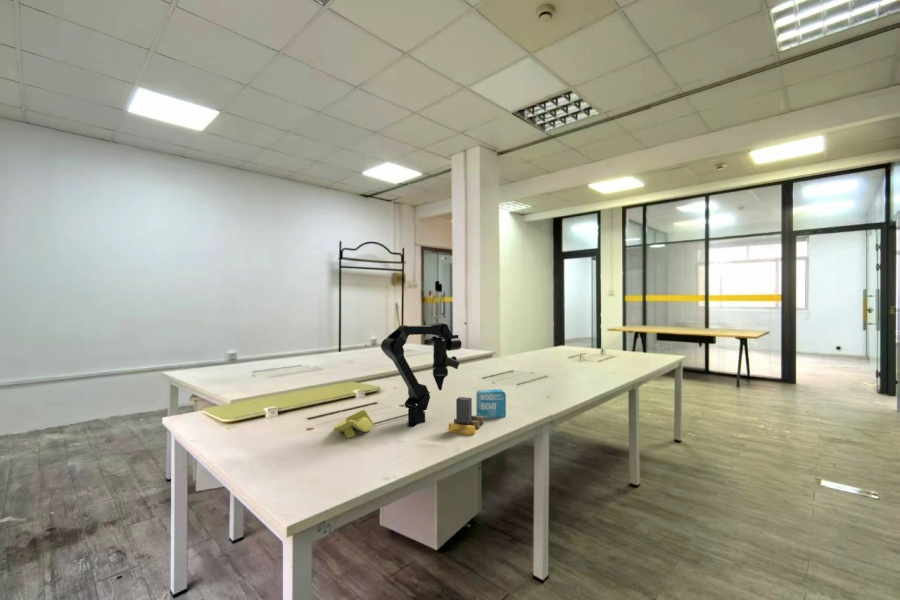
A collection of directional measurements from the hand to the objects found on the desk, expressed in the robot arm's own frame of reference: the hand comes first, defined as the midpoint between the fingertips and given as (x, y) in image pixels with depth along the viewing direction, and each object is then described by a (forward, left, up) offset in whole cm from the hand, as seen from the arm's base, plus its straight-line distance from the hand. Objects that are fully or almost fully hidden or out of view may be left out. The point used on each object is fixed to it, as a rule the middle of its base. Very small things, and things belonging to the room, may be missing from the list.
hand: (440, 387), depth 164 cm
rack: (+10, -17, -13) cm, 24 cm away
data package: (+22, -2, -13) cm, 26 cm away
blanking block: (+9, -20, -12) cm, 25 cm away
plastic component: (-34, -16, -14) cm, 40 cm away
